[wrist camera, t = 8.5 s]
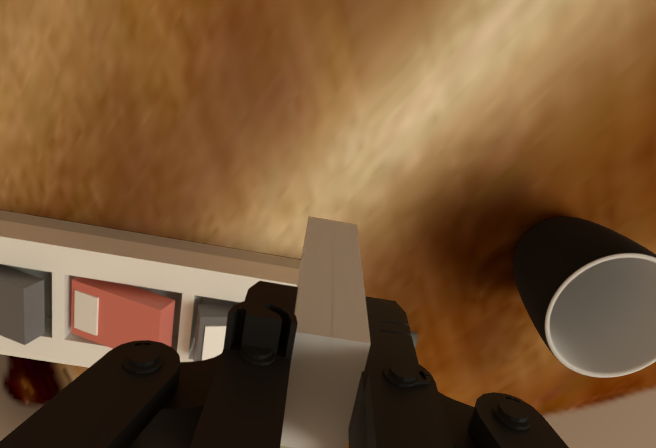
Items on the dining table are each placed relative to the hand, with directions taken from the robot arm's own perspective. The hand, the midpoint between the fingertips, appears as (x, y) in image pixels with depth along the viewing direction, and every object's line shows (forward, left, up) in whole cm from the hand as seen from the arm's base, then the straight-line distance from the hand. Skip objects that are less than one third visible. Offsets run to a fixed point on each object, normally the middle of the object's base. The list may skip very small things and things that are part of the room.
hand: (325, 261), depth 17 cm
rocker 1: (+16, -23, -20) cm, 34 cm away
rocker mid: (+16, -13, -20) cm, 29 cm away
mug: (+7, +21, -25) cm, 33 cm away
